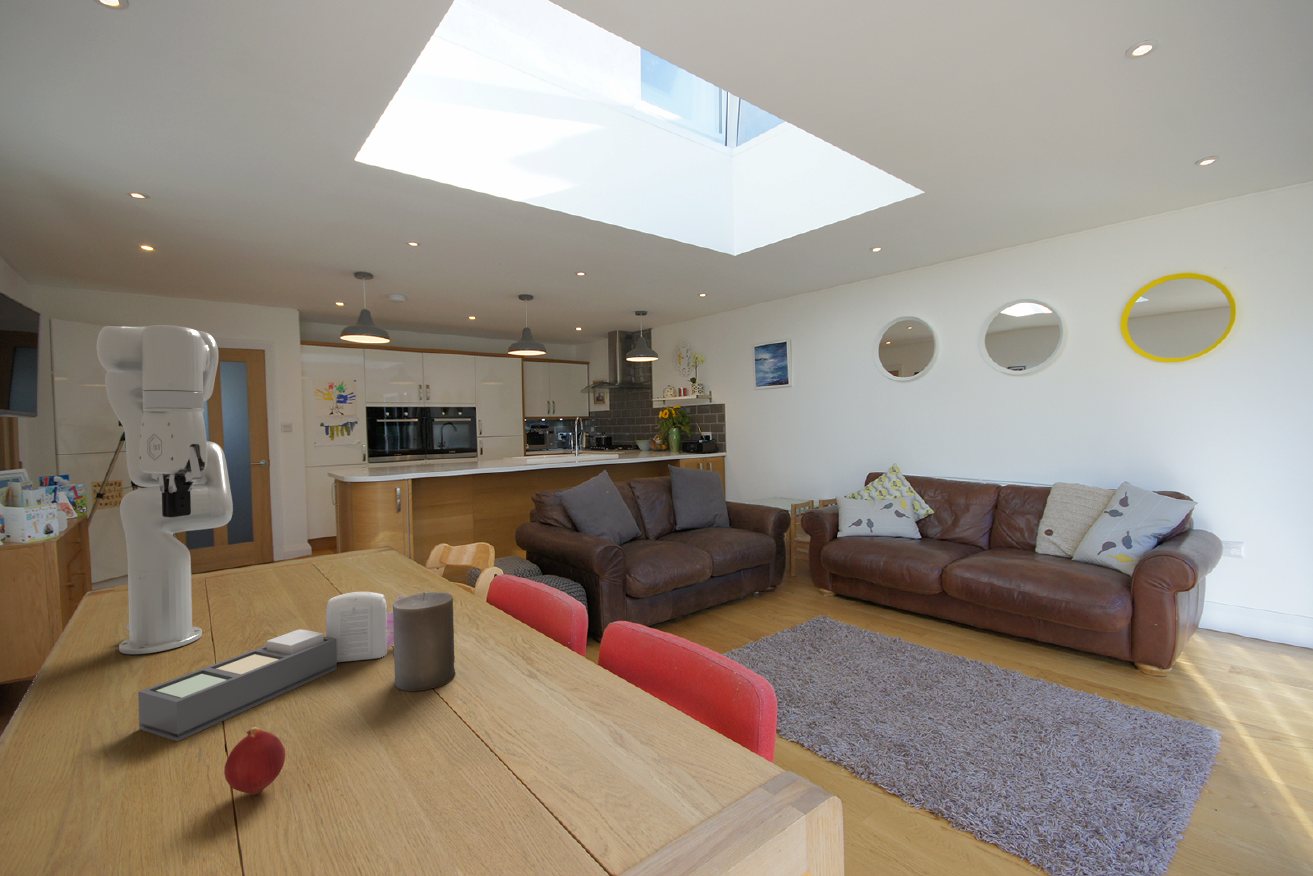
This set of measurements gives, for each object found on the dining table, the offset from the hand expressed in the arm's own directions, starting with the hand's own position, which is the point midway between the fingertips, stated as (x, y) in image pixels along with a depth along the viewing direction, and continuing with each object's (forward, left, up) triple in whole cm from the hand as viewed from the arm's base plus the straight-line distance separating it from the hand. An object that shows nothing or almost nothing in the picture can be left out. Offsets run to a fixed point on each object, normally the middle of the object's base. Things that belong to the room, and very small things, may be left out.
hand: (176, 515), depth 92 cm
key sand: (+12, +3, -28) cm, 30 cm away
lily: (+19, +29, -29) cm, 45 cm away
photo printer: (+16, +20, -29) cm, 39 cm away
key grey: (+12, +11, -26) cm, 31 cm away
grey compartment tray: (+12, +3, -29) cm, 32 cm away
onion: (+38, -13, -29) cm, 50 cm away
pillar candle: (+34, +18, -29) cm, 48 cm away
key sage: (+12, -5, -28) cm, 31 cm away
